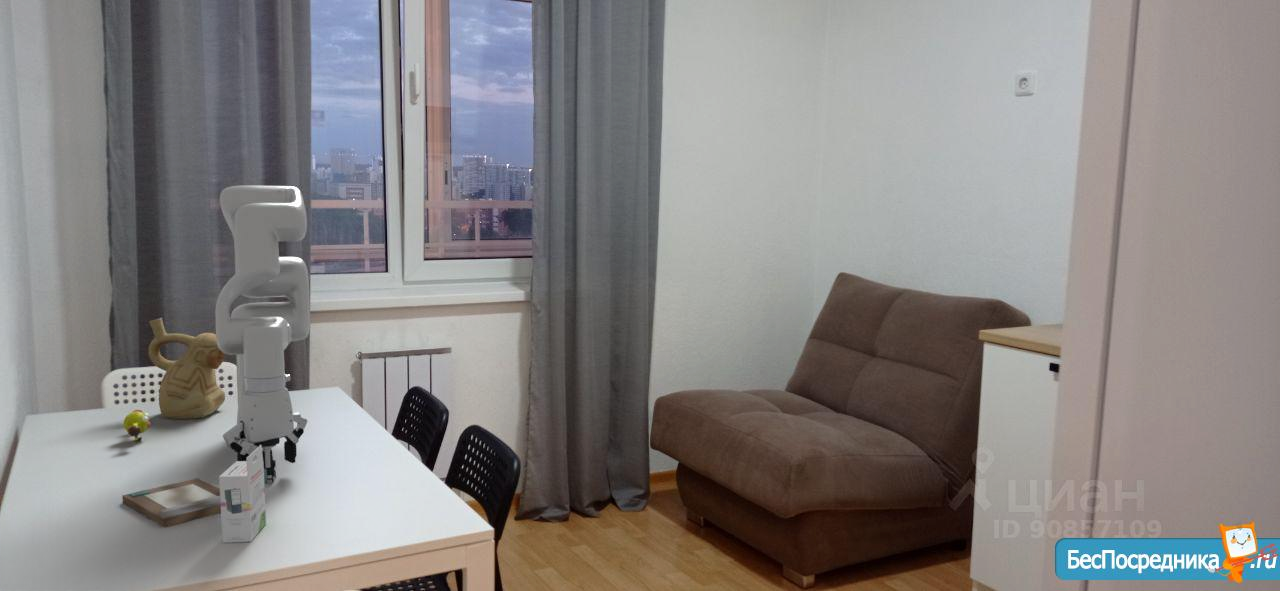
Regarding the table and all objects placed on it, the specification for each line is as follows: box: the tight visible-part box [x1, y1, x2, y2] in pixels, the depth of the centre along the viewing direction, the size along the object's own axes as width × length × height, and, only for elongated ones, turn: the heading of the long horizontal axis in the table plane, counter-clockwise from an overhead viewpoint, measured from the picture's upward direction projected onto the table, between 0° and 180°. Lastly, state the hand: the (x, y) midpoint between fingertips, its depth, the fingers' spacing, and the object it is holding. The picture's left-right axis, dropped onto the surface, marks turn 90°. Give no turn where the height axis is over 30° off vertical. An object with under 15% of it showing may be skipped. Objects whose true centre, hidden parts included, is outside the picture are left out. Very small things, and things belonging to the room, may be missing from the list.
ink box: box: [218, 445, 267, 544], centre depth 159 cm, size 9×5×15 cm, turn 5°
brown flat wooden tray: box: [122, 477, 221, 528], centre depth 173 cm, size 14×18×3 cm
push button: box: [253, 438, 281, 484], centre depth 188 cm, size 7×5×10 cm
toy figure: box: [123, 409, 152, 442], centre depth 215 cm, size 18×6×7 cm, turn 26°
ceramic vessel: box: [147, 317, 226, 420], centre depth 238 cm, size 17×20×25 cm
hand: (267, 466), depth 188 cm, fingers open, 9 cm apart
